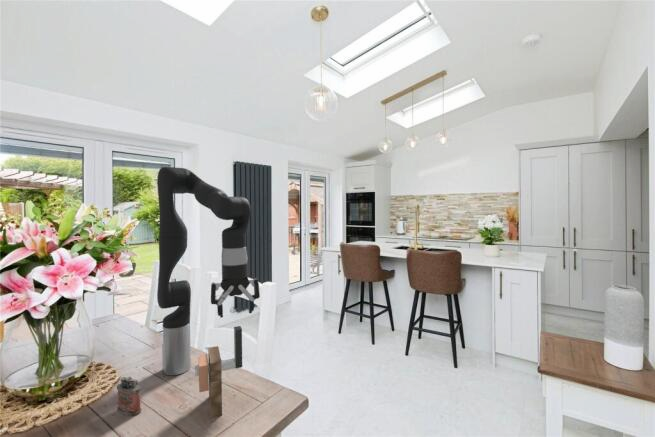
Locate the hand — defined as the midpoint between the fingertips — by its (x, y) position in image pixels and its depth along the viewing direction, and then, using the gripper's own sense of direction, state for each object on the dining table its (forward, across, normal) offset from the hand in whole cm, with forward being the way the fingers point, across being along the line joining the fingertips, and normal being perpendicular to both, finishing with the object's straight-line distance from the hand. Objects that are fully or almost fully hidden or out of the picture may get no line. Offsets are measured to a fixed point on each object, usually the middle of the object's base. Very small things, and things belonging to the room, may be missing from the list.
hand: (236, 314), depth 95 cm
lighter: (+28, +30, -9) cm, 42 cm away
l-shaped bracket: (+17, +5, -2) cm, 18 cm away
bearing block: (+28, +7, -2) cm, 29 cm away
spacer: (+21, +10, -2) cm, 23 cm away
